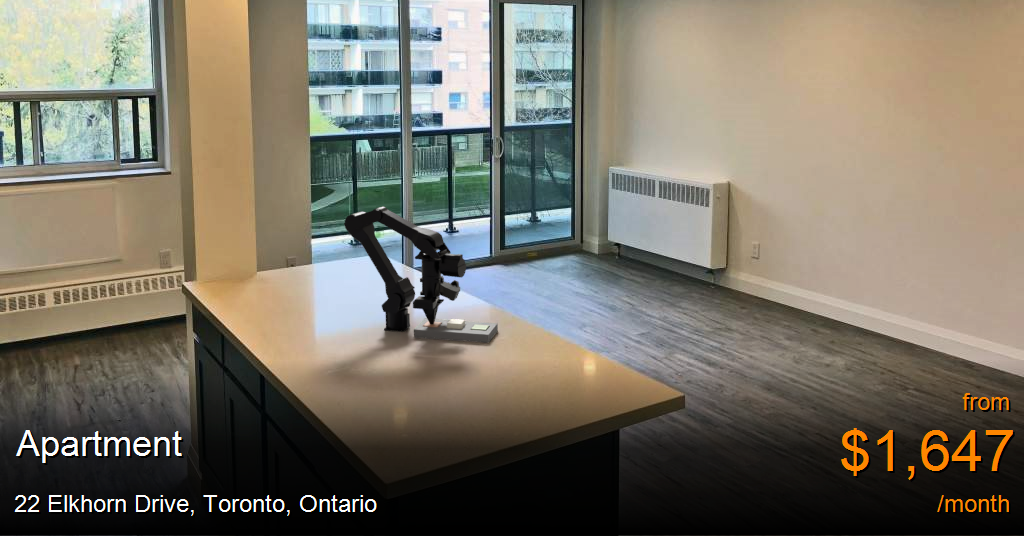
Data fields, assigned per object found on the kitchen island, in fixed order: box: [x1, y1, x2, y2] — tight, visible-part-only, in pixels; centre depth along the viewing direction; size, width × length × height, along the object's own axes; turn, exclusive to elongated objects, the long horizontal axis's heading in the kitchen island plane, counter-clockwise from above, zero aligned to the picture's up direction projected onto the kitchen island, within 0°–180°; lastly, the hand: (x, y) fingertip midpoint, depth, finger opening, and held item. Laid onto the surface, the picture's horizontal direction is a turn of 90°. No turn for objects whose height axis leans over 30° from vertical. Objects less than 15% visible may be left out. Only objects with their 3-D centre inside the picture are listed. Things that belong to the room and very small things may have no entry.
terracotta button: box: [423, 321, 441, 327], centre depth 288 cm, size 4×4×2 cm
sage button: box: [471, 325, 489, 331], centre depth 285 cm, size 4×4×2 cm
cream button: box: [447, 318, 466, 329], centre depth 286 cm, size 4×4×2 cm
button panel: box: [413, 317, 499, 344], centre depth 286 cm, size 23×12×2 cm, turn 78°
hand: (432, 324), depth 288 cm, fingers closed, pressing on terracotta button
